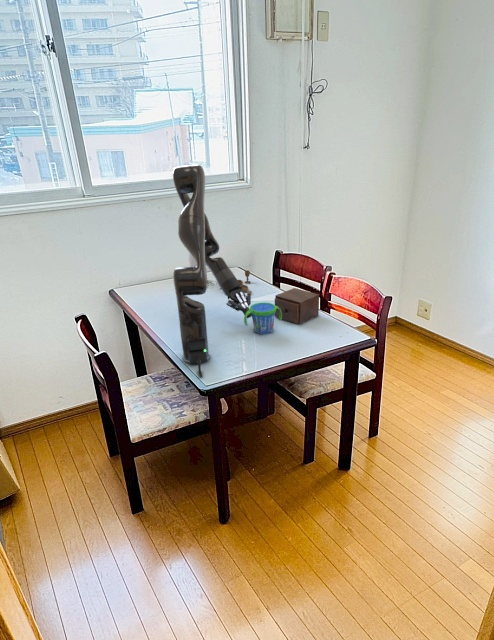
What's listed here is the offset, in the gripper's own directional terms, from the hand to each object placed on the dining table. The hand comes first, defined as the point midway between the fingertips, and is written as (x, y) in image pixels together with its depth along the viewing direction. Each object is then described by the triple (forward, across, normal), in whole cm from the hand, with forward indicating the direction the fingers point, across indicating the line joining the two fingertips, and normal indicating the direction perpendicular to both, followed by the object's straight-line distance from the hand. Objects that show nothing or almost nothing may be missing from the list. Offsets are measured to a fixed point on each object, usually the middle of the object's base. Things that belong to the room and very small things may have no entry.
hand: (250, 316), depth 204 cm
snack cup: (+8, 0, -3) cm, 9 cm away
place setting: (-22, +30, +28) cm, 47 cm away
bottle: (-40, +25, +46) cm, 66 cm away
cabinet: (+9, +20, -3) cm, 22 cm away
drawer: (+8, +18, -4) cm, 20 cm away
